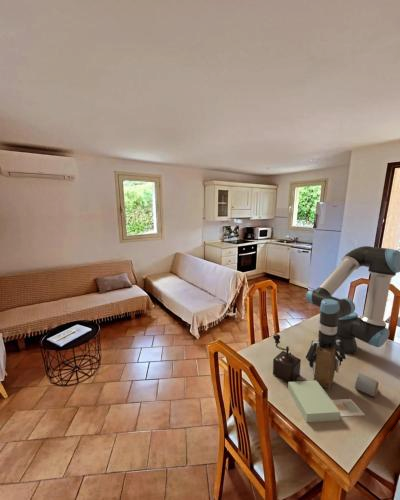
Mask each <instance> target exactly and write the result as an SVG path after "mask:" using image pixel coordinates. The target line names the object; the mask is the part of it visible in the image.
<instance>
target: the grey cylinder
mask: <svg viewBox="0 0 400 500" xmlns="http://www.w3.org/2000/svg"><path fill="white" fill-rule="evenodd" d="M354 385H355V386H354V389H355V390H358V391H360V392H362V393H365V394H367V395H369V396H372V397H376V396H377V395H378V394H377V393H378V388H379V385H380V384H379V381H377V380H376V379H374V378H372V377H369V376H367V375H365V374H363V373H361V372H358V373H357V376H356V379H355V383H354Z"/></svg>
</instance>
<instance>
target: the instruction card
mask: <svg viewBox="0 0 400 500" xmlns="http://www.w3.org/2000/svg"><path fill="white" fill-rule="evenodd" d="M331 400H332V402H333V403H334V404H335V406H336V407H337V408H338V410H339V411H340V417H342V418H344V417H358V416H365V413H364V412H363V410H361V409H360V408H359V406H357V404H356V403H355V402H354V401H353V400H352V398H343V399H342V398H339V399H331Z"/></svg>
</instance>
